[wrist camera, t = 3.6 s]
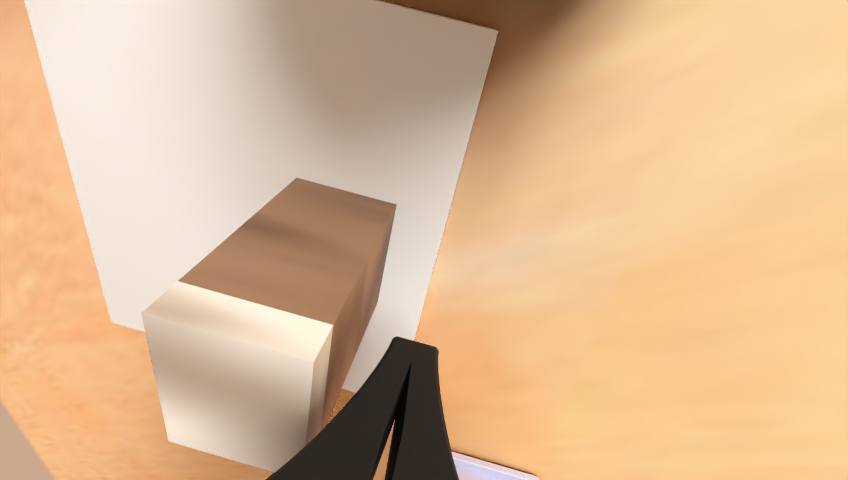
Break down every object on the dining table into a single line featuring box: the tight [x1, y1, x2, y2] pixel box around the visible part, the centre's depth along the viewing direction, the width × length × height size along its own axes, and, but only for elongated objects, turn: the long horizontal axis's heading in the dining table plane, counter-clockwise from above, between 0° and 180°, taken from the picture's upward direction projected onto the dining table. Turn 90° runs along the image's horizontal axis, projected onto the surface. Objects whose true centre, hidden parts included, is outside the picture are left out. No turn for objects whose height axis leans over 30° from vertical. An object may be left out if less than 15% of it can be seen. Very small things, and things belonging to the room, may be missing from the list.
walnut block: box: [141, 178, 397, 473], centre depth 14 cm, size 5×4×8 cm
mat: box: [24, 0, 499, 393], centre depth 18 cm, size 18×16×1 cm
